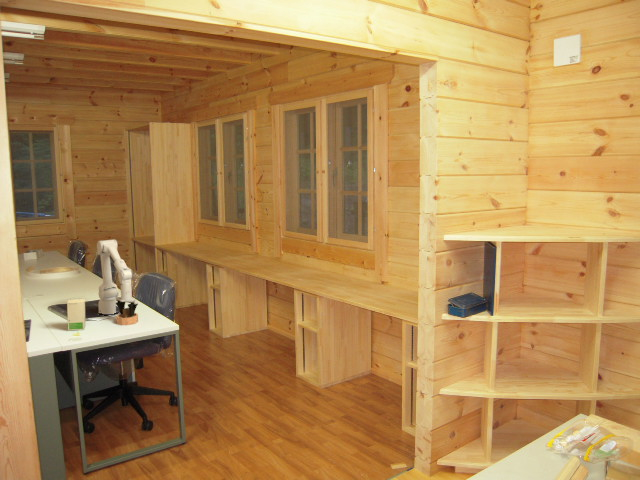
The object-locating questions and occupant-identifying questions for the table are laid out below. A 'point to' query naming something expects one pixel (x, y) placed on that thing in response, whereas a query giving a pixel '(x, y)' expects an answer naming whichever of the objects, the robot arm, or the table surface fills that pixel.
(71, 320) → the skincare box
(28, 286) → the table surface
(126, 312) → the wooden rectangular peg
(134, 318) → the faceted orange bowl
